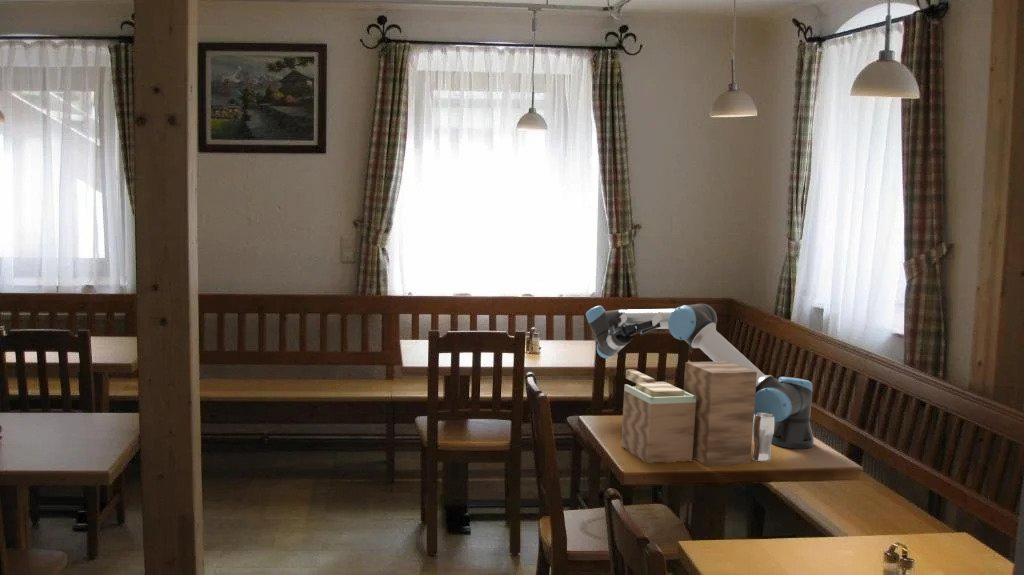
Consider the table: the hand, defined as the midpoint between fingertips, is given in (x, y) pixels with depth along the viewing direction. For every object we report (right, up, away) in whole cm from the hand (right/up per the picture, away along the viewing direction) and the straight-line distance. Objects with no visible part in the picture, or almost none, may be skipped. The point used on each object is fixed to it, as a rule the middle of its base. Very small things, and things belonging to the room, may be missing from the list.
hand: (643, 315), depth 359 cm
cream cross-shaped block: (-1, -23, -18) cm, 30 cm away
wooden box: (+1, -45, -24) cm, 51 cm away
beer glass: (+35, -47, -25) cm, 64 cm away
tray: (+2, -26, -26) cm, 36 cm away
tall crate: (+20, -46, -24) cm, 56 cm away
